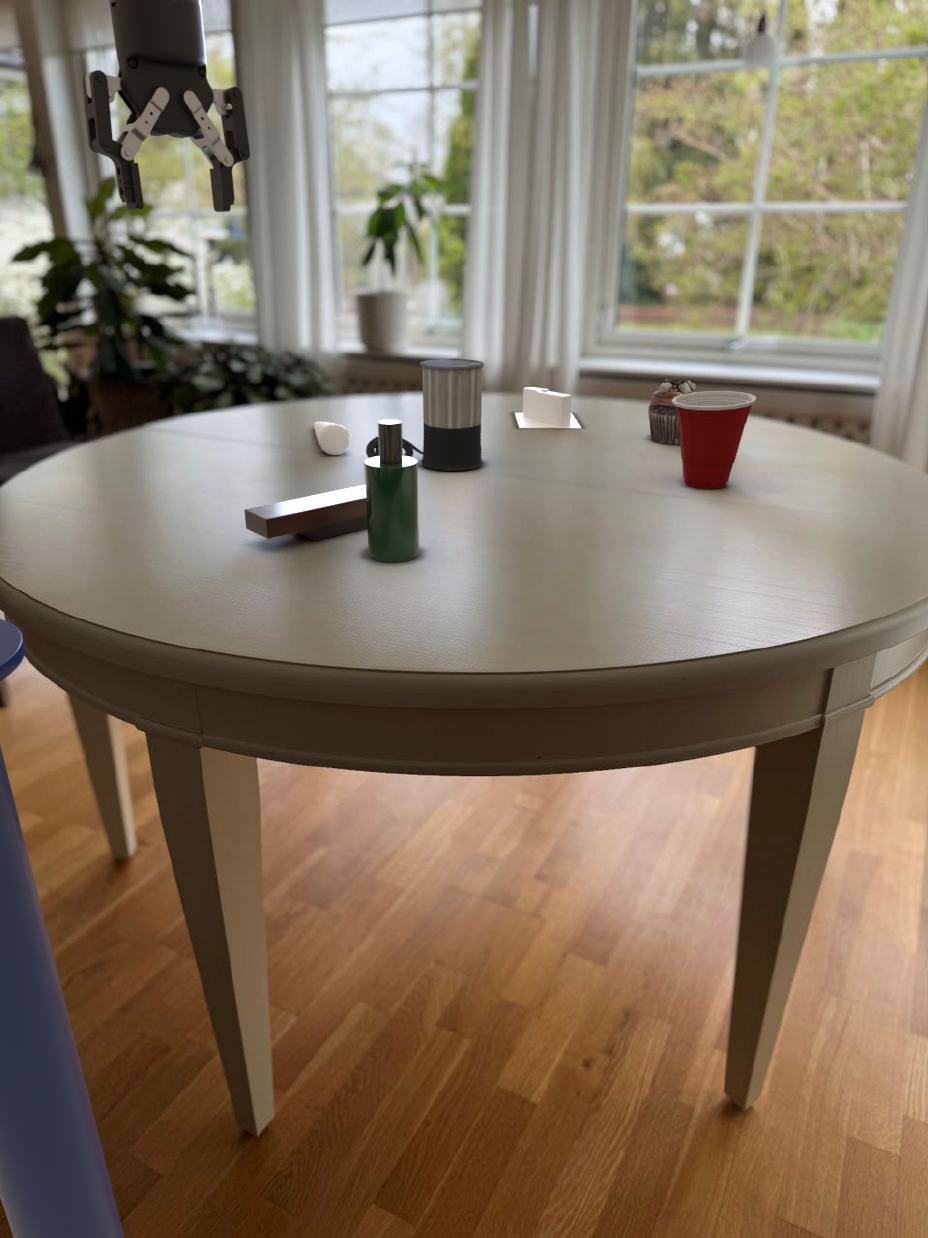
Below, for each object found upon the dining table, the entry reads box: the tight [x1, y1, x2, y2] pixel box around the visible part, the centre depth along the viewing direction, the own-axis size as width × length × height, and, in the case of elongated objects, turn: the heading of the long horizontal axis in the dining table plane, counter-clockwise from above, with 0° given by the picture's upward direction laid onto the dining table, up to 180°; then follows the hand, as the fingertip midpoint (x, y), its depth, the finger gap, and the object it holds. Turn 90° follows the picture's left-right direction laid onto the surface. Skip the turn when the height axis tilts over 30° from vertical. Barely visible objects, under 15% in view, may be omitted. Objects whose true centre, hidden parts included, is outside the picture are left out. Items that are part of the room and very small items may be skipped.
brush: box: [243, 484, 367, 542], centre depth 98 cm, size 18×5×4 cm, turn 131°
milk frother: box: [365, 357, 485, 471], centre depth 125 cm, size 14×16×15 cm
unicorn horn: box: [313, 421, 351, 456], centre depth 142 cm, size 5×24×5 cm, turn 13°
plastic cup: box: [672, 390, 757, 490], centre depth 116 cm, size 11×11×12 cm
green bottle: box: [364, 419, 420, 563], centre depth 89 cm, size 5×5×14 cm
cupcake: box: [647, 377, 697, 446], centre depth 143 cm, size 10×10×10 cm
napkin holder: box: [514, 386, 582, 429], centre depth 159 cm, size 15×11×6 cm
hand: (180, 210), depth 80 cm, fingers open, 8 cm apart
